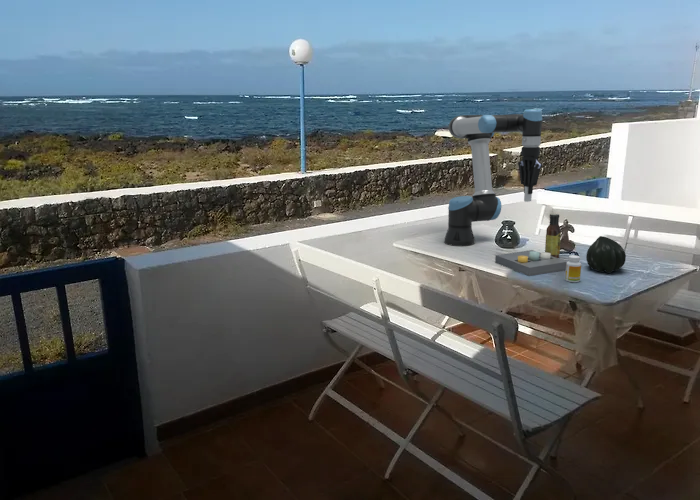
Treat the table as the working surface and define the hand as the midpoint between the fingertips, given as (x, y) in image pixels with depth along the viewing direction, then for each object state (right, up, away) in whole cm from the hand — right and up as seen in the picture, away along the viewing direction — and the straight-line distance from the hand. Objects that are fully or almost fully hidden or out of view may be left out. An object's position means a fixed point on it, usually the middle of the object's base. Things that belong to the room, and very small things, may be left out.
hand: (527, 201), depth 231 cm
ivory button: (+6, -27, -4) cm, 28 cm away
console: (0, -28, -4) cm, 29 cm away
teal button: (0, -26, -7) cm, 27 cm away
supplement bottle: (+9, -34, -25) cm, 43 cm away
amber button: (-5, -28, -8) cm, 30 cm away
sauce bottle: (+14, -25, +9) cm, 30 cm away
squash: (+28, -30, -12) cm, 43 cm away
